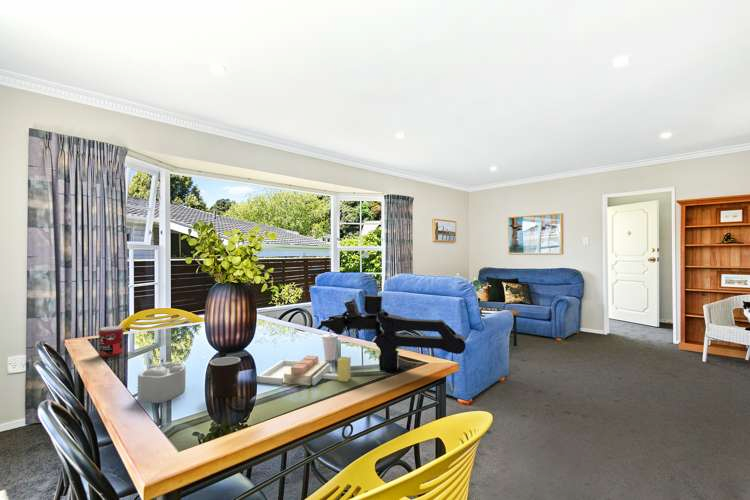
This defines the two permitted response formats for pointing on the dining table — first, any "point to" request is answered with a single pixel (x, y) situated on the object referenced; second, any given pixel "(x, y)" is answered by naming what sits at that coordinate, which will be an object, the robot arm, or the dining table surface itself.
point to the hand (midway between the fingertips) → (324, 320)
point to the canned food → (110, 341)
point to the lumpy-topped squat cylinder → (161, 382)
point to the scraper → (342, 374)
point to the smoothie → (329, 345)
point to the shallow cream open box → (304, 375)
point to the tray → (276, 372)
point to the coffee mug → (225, 376)
